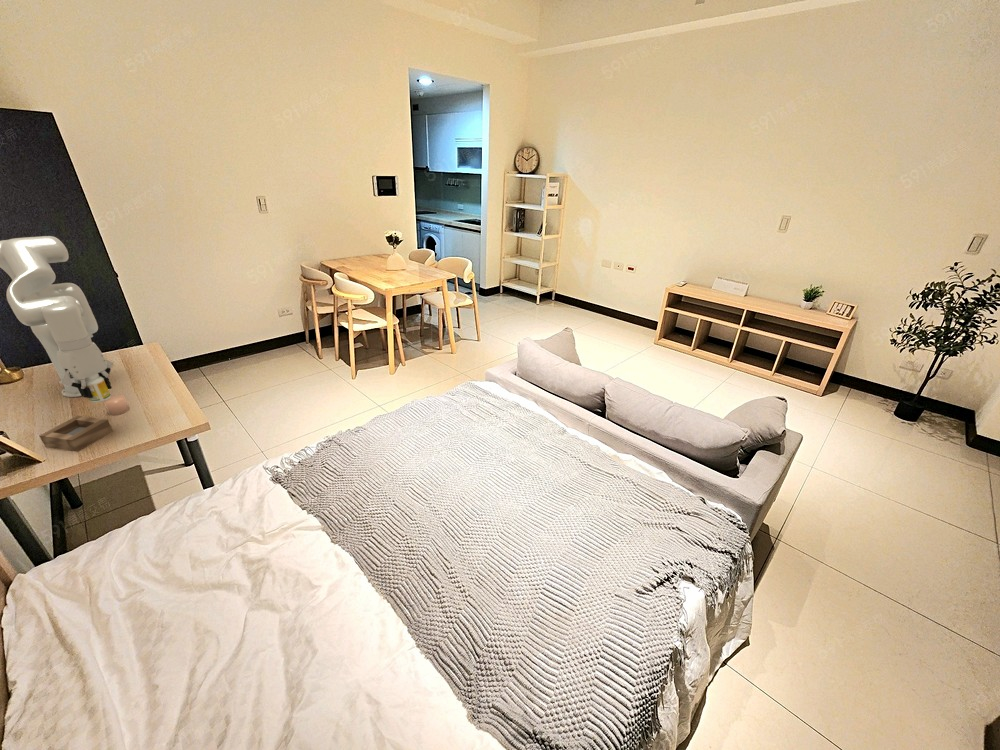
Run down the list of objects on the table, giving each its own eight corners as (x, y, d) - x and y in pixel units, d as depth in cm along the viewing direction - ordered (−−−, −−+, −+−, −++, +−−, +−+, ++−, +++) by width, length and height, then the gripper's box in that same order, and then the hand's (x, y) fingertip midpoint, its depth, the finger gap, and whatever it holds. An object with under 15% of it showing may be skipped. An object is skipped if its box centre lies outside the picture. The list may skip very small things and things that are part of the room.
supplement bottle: (92, 404, 134) (79, 379, 129) (88, 398, 137) (75, 373, 132) (113, 398, 138) (101, 373, 133) (109, 392, 141) (97, 368, 136)
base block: (45, 447, 136) (38, 435, 134) (83, 427, 147) (77, 415, 144) (78, 452, 135) (71, 440, 133) (113, 431, 146) (107, 419, 143)
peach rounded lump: (104, 414, 154) (99, 402, 151) (120, 405, 159) (115, 394, 157) (118, 416, 153) (113, 404, 151) (133, 407, 158) (129, 396, 156)
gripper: (92, 331, 135) (113, 379, 144) (32, 352, 121) (59, 404, 129) (112, 334, 135) (132, 382, 143) (53, 355, 120) (80, 408, 128)
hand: (97, 392), depth 136 cm, fingers closed on supplement bottle, 5 cm apart
